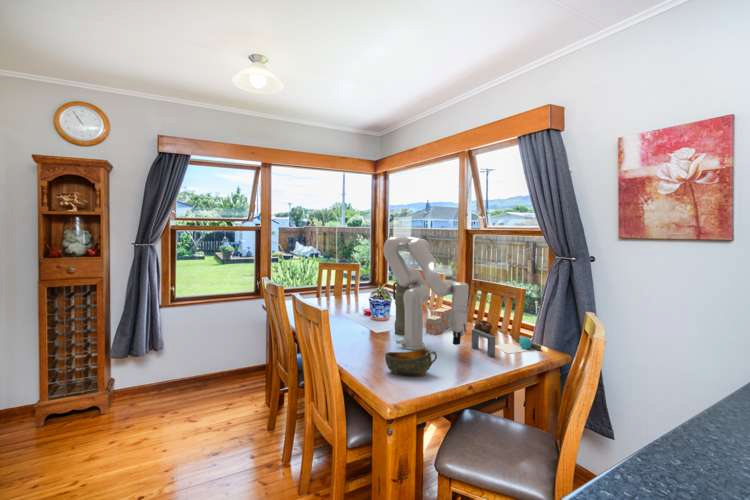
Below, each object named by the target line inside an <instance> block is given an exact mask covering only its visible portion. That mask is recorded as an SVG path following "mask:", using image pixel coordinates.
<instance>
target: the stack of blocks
mask: <svg viewBox="0 0 750 500" xmlns="http://www.w3.org/2000/svg"><path fill="white" fill-rule="evenodd" d="M450 310H451V308H446V307H441V308H440V307H439V308H437V309H434V310H433V313H432V315H430V316H429V317H426V321H425V322H426V323H425V334H429V335H434V336H435V335H438V334H440V333H441V332H444V331H446V330H448V329H450V328H449V327H448V321H449V314H450Z"/></svg>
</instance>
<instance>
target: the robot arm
mask: <svg viewBox="0 0 750 500" xmlns="http://www.w3.org/2000/svg"><path fill="white" fill-rule="evenodd" d="M430 250H431V246H430V243H429V241H428V240H427V239H424V238H417V237H413V236H406V235H399V236H398V235H397V236H396V235H395V236H391V237H388V238H387V239H386V240H385V242H384V244H383V248H382V251H383V256H384V258H385V260H386V262H387V264H388V266H389V267H390V269H391V272H392V275H394V277H395V279H396V280H397V282H398V283H399V285H401V286H403V287H405V286H409V288H408V289H407V290H406V291H405V293H404V296H403V300H404V307H405V335H404V337H402V338H401V339H396V340H395V344H396V345H399V344H400V345H401V347H402V348H403V349H406V350H409V351H416V350H422V349H425V348H426V346H427V345H426V343H424V341H423V335H424V330H423V329H424V312H423V311H424V310H423V306H422V305H423V304H422V303H425V302H427V301H428V300H429V299H430V295H431V293H430V290H431V291H432V292H433V294H435V295H436V296H437V297H440V298H442V297H446V296H451V295H452V296H451V308H450V309H451V310H450V314H449V321H448V327H449V328H448V329H450V330H451V332H452V335H453V336H452V338H453V339H452V344H453V345H455V346H457V345H461V338H462V336H465V335H466V332H467V328H468V314H467V312H468V300H469V288H470V287H469V284H468V283H467V282H463V281H462V282H461V281H460V282H459V281H455V280H451V279H444V280H443V279H442V277H440V275H439V273H438V271H437V269H436V266H437V259H435V257H434V255H432V253H431V252H430ZM401 252H407V253H410V255H411V256H412V257H413V259H414V261H415V262H416V263H417V264H418V266H419V267H420V269H421V270H422V274H423V276H422V274H421V272H420V271H419V270H418V269H417V268H415V267H409V265H407V263H406V260H405V259H404V258H403V256H402V255H401V254H400V253H401ZM396 280H395V281H396ZM429 288H430V289H429Z"/></svg>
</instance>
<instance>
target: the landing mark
mask: <svg viewBox="0 0 750 500" xmlns="http://www.w3.org/2000/svg"><path fill="white" fill-rule="evenodd" d="M495 349H496V350H500V351H501V352H504V353H506V354H510V355H511V354H518V353H525V352H529V349H523V348H522V347H521V346H520V345H519V346H518V345H517V344H513V343H504V344H495Z"/></svg>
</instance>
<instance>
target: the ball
mask: <svg viewBox="0 0 750 500" xmlns="http://www.w3.org/2000/svg"><path fill="white" fill-rule="evenodd" d="M520 338H521V339H520V341H519V343H518V344H519V347H521V348H523V349H526V350H529V349H531V348H530V347H531V344H532V343H531V342H532V340H531V339H530V338H529V337H526V336H523V337H520Z"/></svg>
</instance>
